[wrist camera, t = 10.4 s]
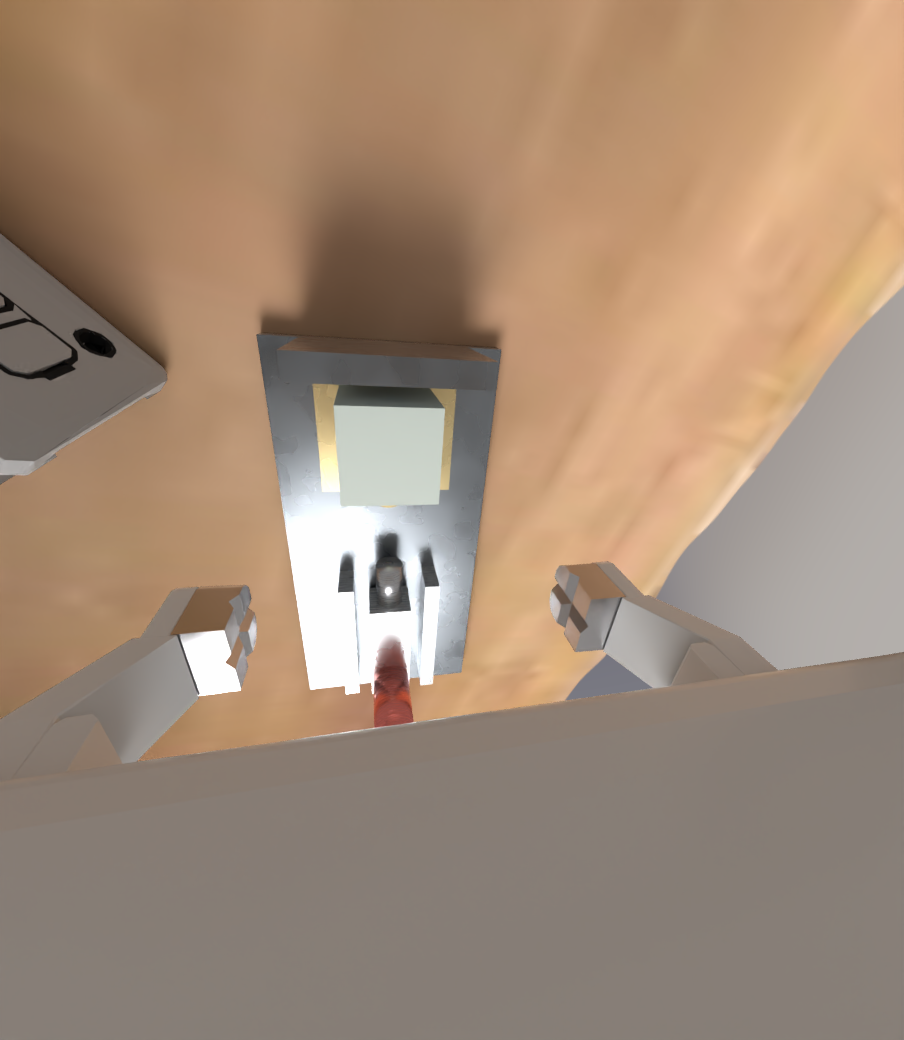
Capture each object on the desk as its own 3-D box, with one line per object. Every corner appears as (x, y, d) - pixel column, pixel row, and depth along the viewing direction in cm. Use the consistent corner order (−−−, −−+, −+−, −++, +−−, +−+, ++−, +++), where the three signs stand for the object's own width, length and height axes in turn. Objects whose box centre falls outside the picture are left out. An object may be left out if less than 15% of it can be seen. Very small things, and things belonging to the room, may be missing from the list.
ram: (405, 660, 33) (415, 743, 27) (371, 664, 32) (373, 749, 26) (408, 551, 28) (421, 624, 21) (367, 553, 27) (368, 628, 21)
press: (458, 663, 36) (477, 735, 30) (311, 679, 33) (300, 762, 28) (496, 347, 23) (542, 364, 17) (260, 332, 21) (218, 346, 15)
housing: (425, 484, 25) (437, 522, 21) (345, 485, 24) (341, 525, 20) (429, 387, 22) (445, 408, 18) (339, 384, 21) (333, 405, 17)
